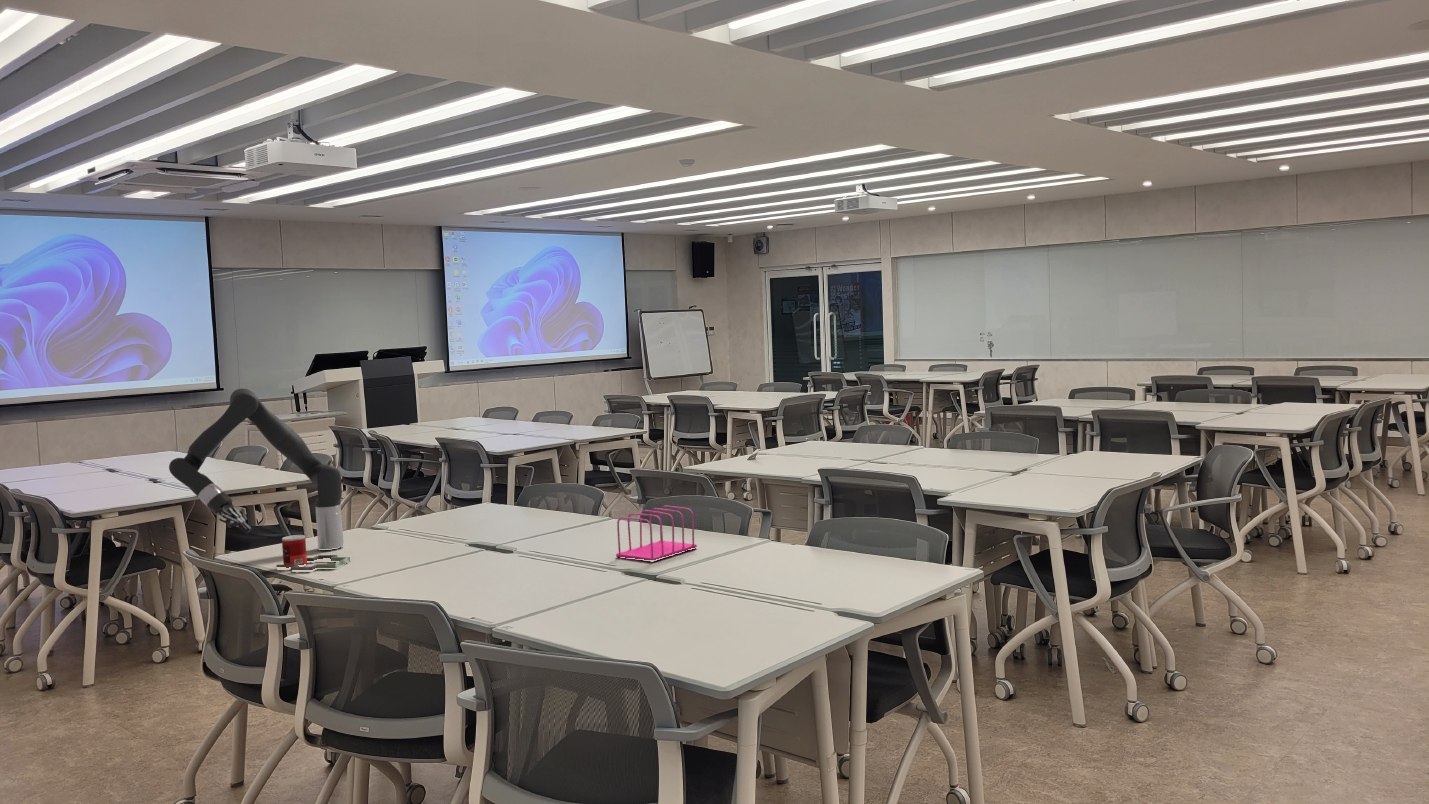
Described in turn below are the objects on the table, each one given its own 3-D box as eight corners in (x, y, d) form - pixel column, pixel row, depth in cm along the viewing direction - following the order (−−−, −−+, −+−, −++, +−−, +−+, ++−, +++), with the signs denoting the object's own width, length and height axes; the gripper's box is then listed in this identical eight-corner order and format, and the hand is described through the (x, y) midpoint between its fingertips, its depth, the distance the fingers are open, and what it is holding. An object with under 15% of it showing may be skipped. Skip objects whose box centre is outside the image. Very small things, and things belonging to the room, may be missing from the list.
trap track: (298, 560, 363) (298, 555, 363) (355, 559, 360) (354, 554, 360) (270, 573, 344) (270, 567, 344) (329, 572, 342) (329, 566, 342)
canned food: (311, 564, 356) (309, 534, 356) (299, 569, 349) (297, 539, 348) (291, 564, 357) (289, 534, 357) (279, 569, 349) (277, 539, 349)
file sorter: (697, 549, 356) (695, 507, 355) (652, 563, 336) (650, 518, 335) (661, 544, 367) (659, 503, 366) (615, 558, 347) (613, 514, 346)
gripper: (210, 494, 347) (245, 527, 347) (232, 488, 360) (265, 520, 360) (197, 509, 348) (232, 542, 348) (219, 503, 361) (253, 534, 361)
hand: (249, 531), depth 354 cm, fingers closed
